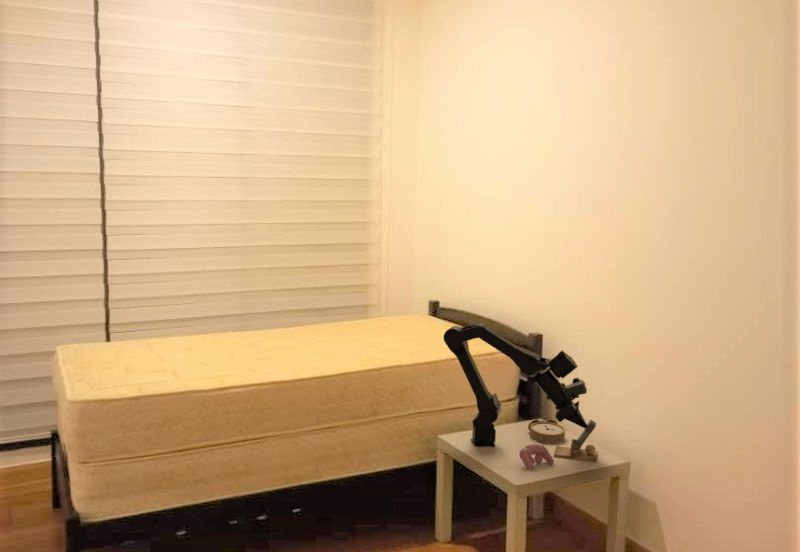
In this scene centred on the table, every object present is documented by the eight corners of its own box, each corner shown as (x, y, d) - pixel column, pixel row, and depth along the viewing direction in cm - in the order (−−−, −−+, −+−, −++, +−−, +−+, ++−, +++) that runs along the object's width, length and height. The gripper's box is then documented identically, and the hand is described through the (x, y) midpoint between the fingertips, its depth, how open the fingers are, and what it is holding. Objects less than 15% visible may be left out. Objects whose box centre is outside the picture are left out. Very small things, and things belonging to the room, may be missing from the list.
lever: (571, 449, 227) (590, 422, 225) (571, 446, 230) (590, 419, 228) (576, 453, 227) (595, 426, 225) (577, 450, 230) (596, 423, 228)
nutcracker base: (553, 456, 227) (554, 443, 226) (556, 448, 234) (556, 436, 234) (596, 462, 223) (597, 449, 223) (597, 453, 231) (597, 440, 230)
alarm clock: (535, 435, 238) (524, 413, 252) (534, 449, 239) (523, 426, 254) (569, 435, 239) (556, 413, 253) (568, 449, 240) (555, 426, 255)
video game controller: (545, 466, 223) (539, 442, 225) (556, 464, 219) (549, 440, 221) (521, 472, 218) (514, 448, 220) (531, 469, 214) (524, 445, 216)
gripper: (570, 378, 218) (606, 420, 216) (574, 364, 236) (607, 403, 234) (540, 401, 221) (576, 442, 219) (547, 386, 239) (579, 424, 237)
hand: (585, 427), depth 227 cm, fingers closed, pressing on lever
